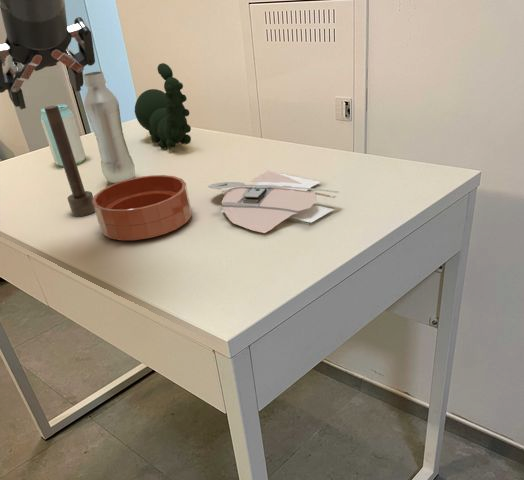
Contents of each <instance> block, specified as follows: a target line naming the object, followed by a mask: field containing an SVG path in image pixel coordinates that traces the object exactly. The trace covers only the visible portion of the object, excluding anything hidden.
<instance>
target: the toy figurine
mask: <svg viewBox="0 0 524 480" xmlns="http://www.w3.org/2000/svg"><path fill="white" fill-rule="evenodd" d="M157 72H158V74H159V75H160V77H161V78H162V79H163V80H164V84H163V89H164V91H163V90H160V89H158V88H157V89H156V88H151V89H147V90H144V91H143V92H142V93H141V94H140V95H139V96H138V97H137V99H136V101H135V105H134V114H135V117H136V120H137V122H138V123H139V125H140V126H141V127H142V128H144V129H145V130H146V131H148V133H149V135H150V140H151V141H152V143H155V144H158V146H159V147H160V149H162V150H165V149H167V148H169V149H171V148H174V147H176V145H178V144H181V145H182V144H183V145H184V144H186V145H187V144H190V143H191V140H192V136H191V135H189V134H188V133H190V132H191V131H192V127H191V126H190V125H189V124H188V120H187V117H188V116H190V110H189V109H187V108H186V107H185V105H184V103H185V102H186V101H187V96H186V95H185V94H183V92H182V91H181V90H182V89H183V88H184V85H183V83H182V82H181V81H179V79H178V78H176V77H174V73H173V69H172V68H171V67H170V66H169V65H168V64H167V63H164V62H162V63H159V64H158V65H157Z"/></svg>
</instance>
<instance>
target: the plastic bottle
mask: <svg viewBox="0 0 524 480" xmlns="http://www.w3.org/2000/svg"><path fill="white" fill-rule="evenodd" d="M105 78H106V77H105V74H104V72H103V71H91V72H87V73H85V74H84V73H83V81H84V85H85V86H84V87H86V88H87V91H86V94H85V97H84V102H83V104H84V106H83V107H84V111H85V113H86V115H87V118H88V121H89V123H90V124H91V127H92V130H93V133H94V136H95V139H96V142H97V146H98V147H97V148H98V151H99V156H100V166H101V172H102V175H103V177H104V179H105V180H106V181H107V182H108V183H110V184H115V183H118V182H121V181H124V180H128V179H133V178H135V174H136V168H135V167H136V166H135V164H134V163H135V162H134V160H133V158H132V156H131V155H130V152H129V149H128V146H127V143H126V140H125V135H124V132H123V125H122V120H121V111H120V103H119V100H118V99H117V97H116V95H114V93H113V92H112V91H111V90H110V89H109V87H107V86H106V84H107V81H106V79H105Z"/></svg>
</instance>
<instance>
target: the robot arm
mask: <svg viewBox="0 0 524 480" xmlns="http://www.w3.org/2000/svg"><path fill="white" fill-rule="evenodd" d="M66 11H67V10H66V2H65V0H0V13H1V17H2V22H3V26H4V30H5V34H6V38H5V41H4V43H2V44H0V94H2V93H5V92H6V91H7V93H8V96H9V99H10V101H11V102H12V104H13V106H14V107H15V108H19V109H20V110H25V109H27V108H26V107H27V105H26V101H25V98H24V94H23V90H22V89H21V87H22V86H23V84H24V82H25V81H26V82H27V81H29V80H30V78H31V77H32V75H33V73H34V72H37V71H42V70H43V69H45V68H49V67H50V68H51V67H54V66H58V63H59V62H60V63H62V64H63V65H64V66H66V67H67V71H68V81H69V83H70V85H71V86H72V88H73V90H74V91H75V92H76V93H77V92H80V91H82V88H81V87H83V86H84V84H85V81H84V77H83V75H84V73H83V71H84V70H85V67H86V66H87V65H88V66H90V67H91V66H93V65H94V64H95V63H96V57H95V50H94V42H93V36H92V35H93V34H92V31H91V30H90V28H89V27H88V25H87V24H86V22H85V21H84V19H83V18H82V17H80V16H78V17H76V18H75V19H74V24H72V25H69V26H68V20H67V12H66ZM72 38H74V39H75V41H76V42H77V48H78V52H77V53H74V52H73V51H72V50H71V49H69V46H70V44H71V42H72ZM7 57H8V58H7ZM6 58H7V66H6ZM22 65H23V66H22ZM5 66H6V68H5V70H4V68H3V67H5Z"/></svg>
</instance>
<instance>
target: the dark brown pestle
mask: <svg viewBox="0 0 524 480" xmlns="http://www.w3.org/2000/svg"><path fill="white" fill-rule="evenodd" d="M57 105H58V104H54V105H49V106H45V107H44V109H45V112H46V115H47V118H48V121H49V124H50V127H51V130H52V133H53V136H54V139H55V142H56V145H57V149H58V152H59V155H60V158H61V161H62V164H63V167H62V168H63V170H64V173H65V176H66V179H67V181H68V184H69V188H70V191H71V194H70V195H68V196H67V198H66V199H67V202H68V205H69V208H70V211H71V213H72V215H73V216H74V217H85V216H89V215H92V214H93V213H95V210H94V206H93V203H92V200H93V198H94V195H93V193H92V192H91V191H89V190H85V188H84V187H85V186H84V184H83V181H82V177H81V174H80V171H79V169H78V164H77V165H76V162H75V158H74V155H73V152H72V149H71V146H70V142H69V139H68V136H67V133H66V130H65V127H64V123H63V120H62V117H61V114H60V111H59V107H58V106H57Z"/></svg>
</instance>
